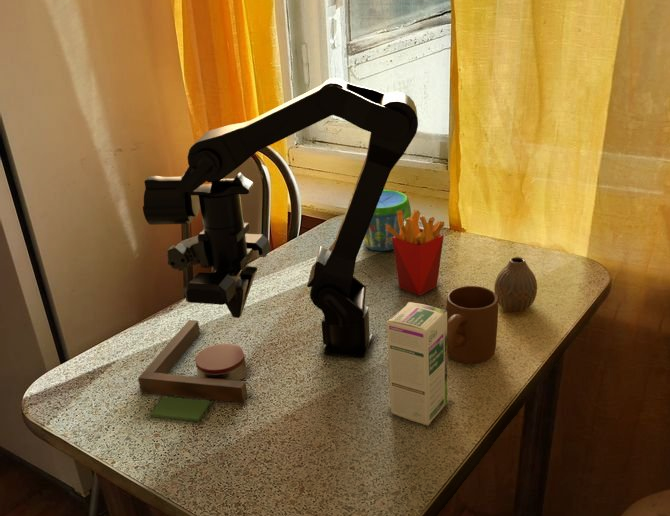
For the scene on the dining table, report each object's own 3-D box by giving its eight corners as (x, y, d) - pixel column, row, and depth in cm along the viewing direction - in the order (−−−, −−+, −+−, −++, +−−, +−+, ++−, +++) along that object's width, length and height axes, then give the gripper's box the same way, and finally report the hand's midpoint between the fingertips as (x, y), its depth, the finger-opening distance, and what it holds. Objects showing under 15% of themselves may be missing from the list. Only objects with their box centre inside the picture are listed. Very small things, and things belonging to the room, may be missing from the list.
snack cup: (369, 264, 130) (367, 215, 126) (337, 248, 138) (334, 201, 133) (427, 241, 139) (427, 194, 134) (393, 227, 146) (392, 183, 142)
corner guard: (281, 340, 107) (280, 326, 106) (243, 402, 93) (241, 388, 91) (191, 332, 110) (188, 319, 109) (141, 392, 96) (137, 377, 95)
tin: (253, 363, 101) (251, 345, 100) (237, 390, 95) (234, 372, 94) (209, 359, 103) (206, 341, 101) (190, 386, 97) (186, 368, 95)
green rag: (210, 403, 93) (210, 401, 93) (198, 421, 89) (198, 419, 89) (164, 398, 94) (164, 396, 94) (150, 416, 91) (150, 414, 91)
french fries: (416, 275, 125) (415, 199, 118) (451, 288, 120) (452, 209, 113) (383, 291, 120) (381, 213, 113) (419, 306, 115) (418, 224, 108)
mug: (471, 386, 94) (473, 328, 89) (422, 371, 97) (422, 315, 93) (503, 345, 102) (506, 291, 98) (457, 333, 106) (459, 280, 102)
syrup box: (428, 427, 86) (429, 330, 79) (388, 413, 89) (385, 319, 82) (447, 403, 90) (449, 309, 84) (409, 391, 93) (408, 299, 87)
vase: (489, 313, 111) (491, 266, 107) (498, 295, 117) (500, 249, 113) (531, 319, 109) (535, 271, 105) (538, 300, 115) (542, 253, 110)
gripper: (198, 197, 105) (213, 285, 113) (139, 245, 89) (161, 344, 97) (265, 200, 103) (275, 290, 110) (217, 249, 87) (233, 350, 94)
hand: (237, 316), depth 103 cm, fingers closed
